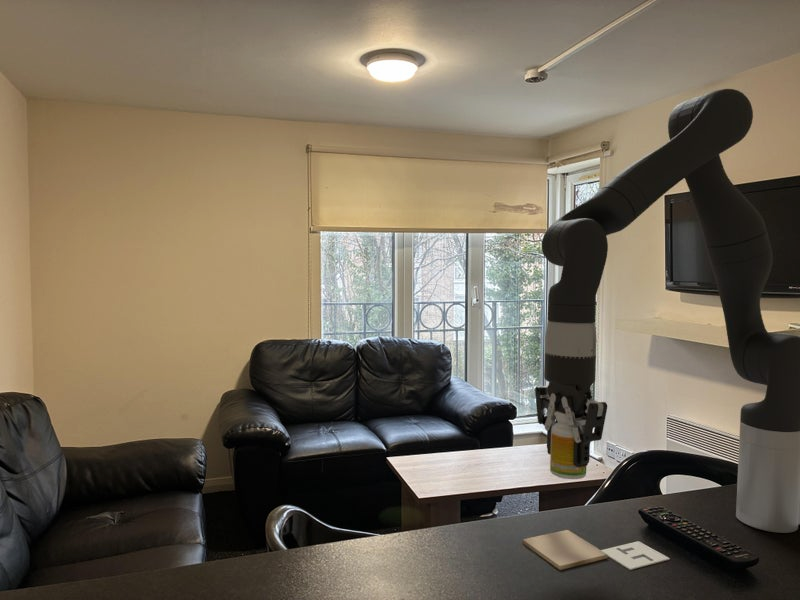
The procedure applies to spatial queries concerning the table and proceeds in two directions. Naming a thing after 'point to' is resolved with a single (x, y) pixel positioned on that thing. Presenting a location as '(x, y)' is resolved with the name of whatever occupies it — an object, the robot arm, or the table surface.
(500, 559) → the table surface
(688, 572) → the table surface
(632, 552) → the tile
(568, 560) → the oak coaster
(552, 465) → the supplement bottle
